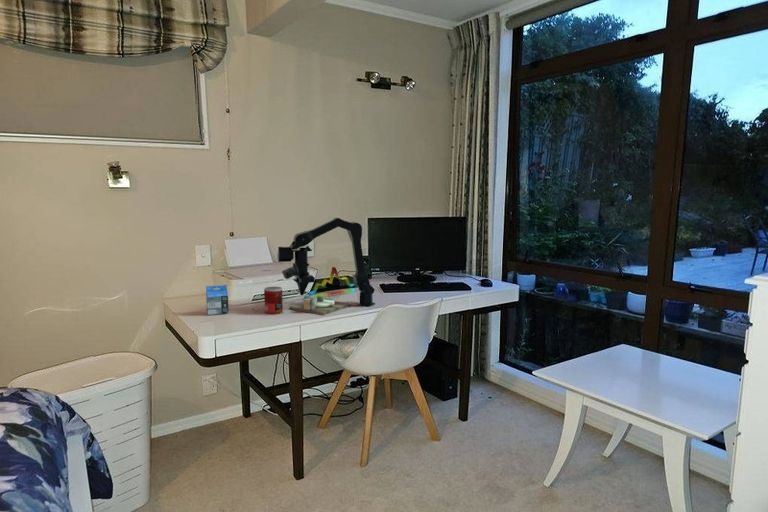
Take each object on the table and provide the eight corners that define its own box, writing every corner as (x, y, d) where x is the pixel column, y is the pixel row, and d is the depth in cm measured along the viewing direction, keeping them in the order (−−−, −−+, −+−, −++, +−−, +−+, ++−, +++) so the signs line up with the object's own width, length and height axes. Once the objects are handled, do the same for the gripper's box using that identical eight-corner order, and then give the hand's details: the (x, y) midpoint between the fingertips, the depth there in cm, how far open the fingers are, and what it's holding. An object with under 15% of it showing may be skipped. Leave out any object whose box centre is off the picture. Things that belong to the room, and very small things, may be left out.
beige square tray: (317, 300, 238) (317, 288, 237) (350, 305, 227) (350, 293, 226) (289, 309, 221) (289, 296, 220) (323, 315, 210) (323, 301, 210)
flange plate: (316, 299, 232) (316, 290, 232) (339, 302, 227) (339, 293, 226) (294, 307, 217) (294, 298, 216) (318, 311, 211) (318, 301, 211)
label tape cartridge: (207, 315, 209) (206, 287, 207) (206, 313, 212) (205, 286, 210) (228, 313, 212) (227, 286, 210) (227, 311, 216) (226, 284, 214)
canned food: (278, 315, 210) (278, 290, 209) (261, 313, 212) (260, 289, 210) (285, 310, 218) (285, 286, 216) (269, 309, 219) (268, 286, 218)
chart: (307, 301, 238) (307, 271, 236) (304, 300, 240) (303, 270, 238) (355, 292, 258) (355, 265, 256) (351, 291, 260) (351, 264, 258)
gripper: (277, 259, 221) (278, 292, 223) (290, 265, 205) (291, 301, 207) (300, 258, 227) (301, 290, 229) (315, 263, 210) (315, 298, 213)
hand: (301, 294), depth 219 cm, fingers closed
